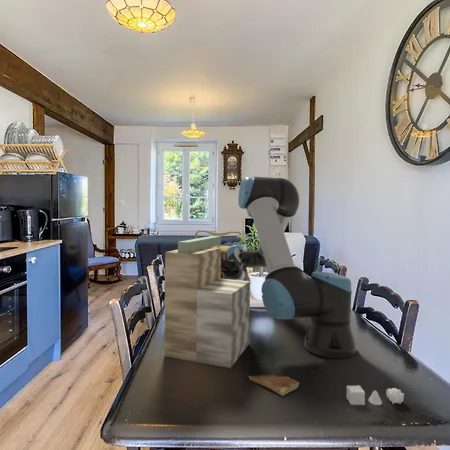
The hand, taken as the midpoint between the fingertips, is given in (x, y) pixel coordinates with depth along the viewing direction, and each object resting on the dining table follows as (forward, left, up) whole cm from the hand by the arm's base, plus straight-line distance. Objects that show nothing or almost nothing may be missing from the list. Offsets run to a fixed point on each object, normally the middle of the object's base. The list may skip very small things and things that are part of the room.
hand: (217, 250), depth 124 cm
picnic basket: (+64, -52, -28) cm, 87 cm away
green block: (-8, +13, +2) cm, 15 cm away
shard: (-42, +16, -29) cm, 53 cm away
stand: (-15, +15, -28) cm, 35 cm away
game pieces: (-60, +3, -28) cm, 67 cm away
